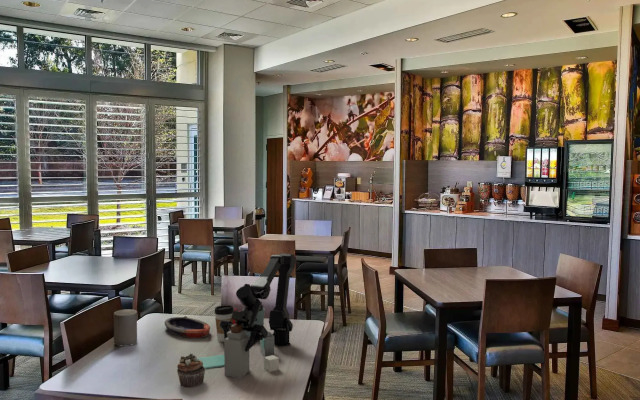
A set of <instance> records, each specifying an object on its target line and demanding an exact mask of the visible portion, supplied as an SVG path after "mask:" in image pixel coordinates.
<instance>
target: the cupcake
mask: <svg viewBox="0 0 640 400" xmlns="http://www.w3.org/2000/svg"><path fill="white" fill-rule="evenodd" d="M198 358H199V357H197V356H196V355H194V354H193V353H190V354H188V356H187V355H186V356H184V355H183V356H180V359H179V363H178V364H177V375H178V380H179V383H180V384H179V385H180V386H181V387H183V388H187V389H188V388H189V389H190V388H196V387H199V386H201V385H202V384H203V383H204V378H205V373H206V369H205V367H203V366H202V365H203V362H202V361H201V360H199V359H198Z"/></svg>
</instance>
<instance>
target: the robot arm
mask: <svg viewBox="0 0 640 400" xmlns="http://www.w3.org/2000/svg"><path fill="white" fill-rule="evenodd" d="M296 263H297V257H296V256H295V254H293V253H283V252H282V253H281V252H280V253H278V254H271V256H270V257H269V261H268V263H267V265H266V266H265V269H263V272H262V274H261V275H260V277H259V278H258V279H257V278H256V279H255V280H254V281H253V282H252V284H250V283H244V285H242V286H240V287H239V288H238V289H237V290H236V292H235V296H236V297H237V299H238V300H239V302H240V303H241V305H243V306H244V308H243V309H244V310H243V309H242V310H236V311H235V310H234V311H233V313H232V317H231V319H234V320H235V322H236V323H237V324H241V325H243V326H242V330H246V332H251V334H250V338H249V341H248V343H247V345H246V348H245V351H246V352H247V351H248V350H249V351H250V349H251V348H253V346H255V345H256V344H257V343H259V342H260V340H263V338H265V339H266V338H267V335H268V332H269V331H268V330H267V329H266V327H265V326H264V325H258V324H255V325H254V322H257V320H258V319H257V318H256V317H257V315H258V312H259V310H260V309H263V308H264V305H263V302H262V301H261V300H267V299H268V297H269V295H270V293H271V290H272V289H271V284H272V282H273V280H274V278H275V276H276V275H277V273H278V278H277V279H278V280H277V287H276V297H275V306H274V307H273V309H271V310H270V311H269V318H268V324H269V330H270V331H273V333H271V334H272V335H273V336H274V347H276V348H277V347H284V346H285V347H286V346H291V343H290V332H292V331H293V328H294V324H293V322H292V321H291V318H290V313H289V310H288V309H287V304H288V297H289V296H288V295H289V288H290V279H291V278H290V277H291V274H292V273H293V271H294V270H295V269H296V267H295V266H296ZM232 325H234V324H233V323H232V322H231V321H228V320H222V321H221V322H220V324H219V326H220V327H221V329H222V330H223V331H224V339H225V338H227V337H228V336H227V332H229V331H231V326H232Z"/></svg>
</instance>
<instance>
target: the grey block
mask: <svg viewBox="0 0 640 400" xmlns="http://www.w3.org/2000/svg"><path fill="white" fill-rule="evenodd" d="M274 355H275V354H274ZM274 355H271V356H267V357H264V356H263V357H264V358H263V363H264V364H263V365H264V366H263V367H264V368H263V369H264V370H266V371H267V372H269V373H271V372H275V371H278V370H280V362H279V361H280V358H279V357H278V356H276V355H275V356H274Z"/></svg>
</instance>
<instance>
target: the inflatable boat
mask: <svg viewBox="0 0 640 400" xmlns="http://www.w3.org/2000/svg"><path fill="white" fill-rule="evenodd" d="M164 326H165V328H166V329H167V331H168V332H169V333H171V334H173V335H176V336H178V337H180V338H181V337H182V338H188V339H197V338H198V339H199V338H204V337H207V336H209V334H210V331H211V326H210V325H209V323H207V322H205V321H203V320H200V319H197V318H192V317H187V316H186V315H185V316H176V317H175V316H173V317H169V318H166V319H165V321H164Z"/></svg>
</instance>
